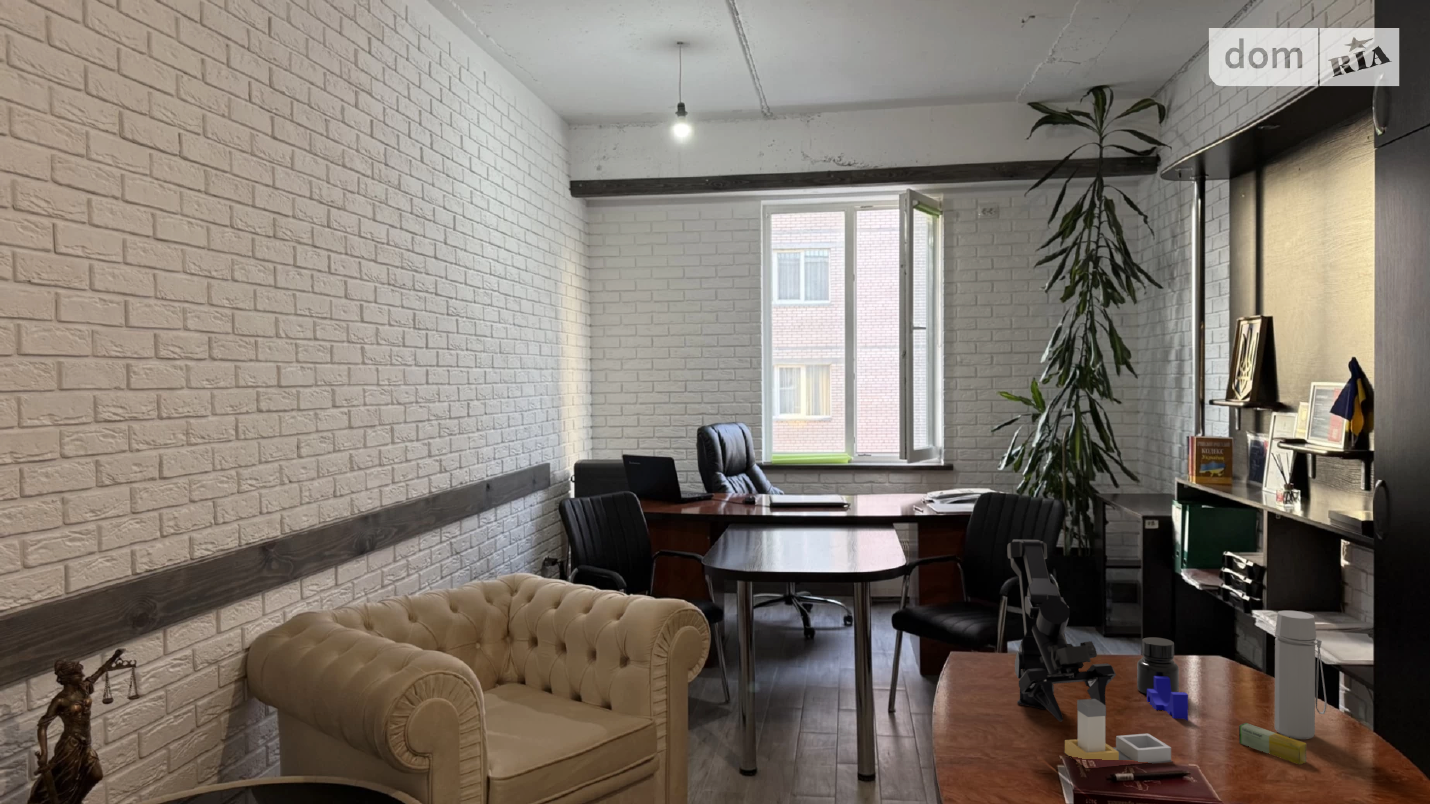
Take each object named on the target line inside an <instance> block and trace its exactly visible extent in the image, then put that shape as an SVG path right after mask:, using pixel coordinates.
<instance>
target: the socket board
mask: <svg viewBox="0 0 1430 804" xmlns="http://www.w3.org/2000/svg"><path fill="white" fill-rule="evenodd" d="M1063 753H1064V754H1065V755H1067V756H1068V757H1069V756H1072V757H1078V758H1082V759H1102V760H1134V761H1138V762H1148V763H1152V764H1163V763H1172V762H1173V760H1172V747H1171V746H1170V745H1168V744H1166V743H1165V742H1164V741H1161V740H1160V739H1158V738H1156V737H1155V736H1153V735H1151V734H1150V733H1138V734H1126V735H1116V737H1115V747H1112V746H1111V745H1109V744H1108V743H1106V742H1105V751H1101V752H1089V753H1086V752H1085V751H1083V750H1082V749H1080V748H1079V747H1078V738H1076V739H1065V740H1064V751H1063ZM1173 763H1174V762H1173Z"/></svg>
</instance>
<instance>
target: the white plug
mask: <svg viewBox="0 0 1430 804" xmlns="http://www.w3.org/2000/svg"><path fill="white" fill-rule="evenodd" d="M1076 701H1077V703H1076V705H1077V706H1076V707H1077V709H1076V710H1077V739H1078V747H1079V748H1080V749H1082V750H1083V751H1085V752H1086V753H1089V752H1101V751H1105V743H1106V717H1107V707H1106V706H1107V704H1106V705H1104V704H1103V703H1101V702H1099V701H1098V700H1096V699H1091V698H1088V699H1087V698H1086V699H1077V700H1076ZM1105 716H1106V717H1105Z"/></svg>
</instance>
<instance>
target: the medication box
mask: <svg viewBox="0 0 1430 804" xmlns="http://www.w3.org/2000/svg"><path fill="white" fill-rule="evenodd" d="M1238 739H1239V740H1238V743H1239V744H1240V745H1243V746H1246V747H1248V746H1249V747H1248V748H1251V749H1255V750H1257V751H1259V752H1262V751H1263V753H1266V754H1268V753H1270V754H1269V755H1271V754H1272V755H1271V756H1274V755H1275V756H1274V757H1276V756H1278V757H1277V758H1279V757H1281V758H1280V759H1282V758H1283V759H1282V760H1285V761H1288V760H1289V761H1288V762H1290V763H1293V764H1296V763H1297V764H1296V765H1303V763H1304V764H1306V763H1307V743H1306V742H1303V741H1300V740H1299V739H1295V738H1289V737H1287V736H1284V735H1282V734H1280V733H1278V732H1277V733H1276V732H1273V731H1271V730H1268V729H1265V728H1263V727H1259V726H1256V725H1253V724H1251V723H1248V722H1245V723H1244V722H1243V723H1241V724H1239V725H1238Z"/></svg>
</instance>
